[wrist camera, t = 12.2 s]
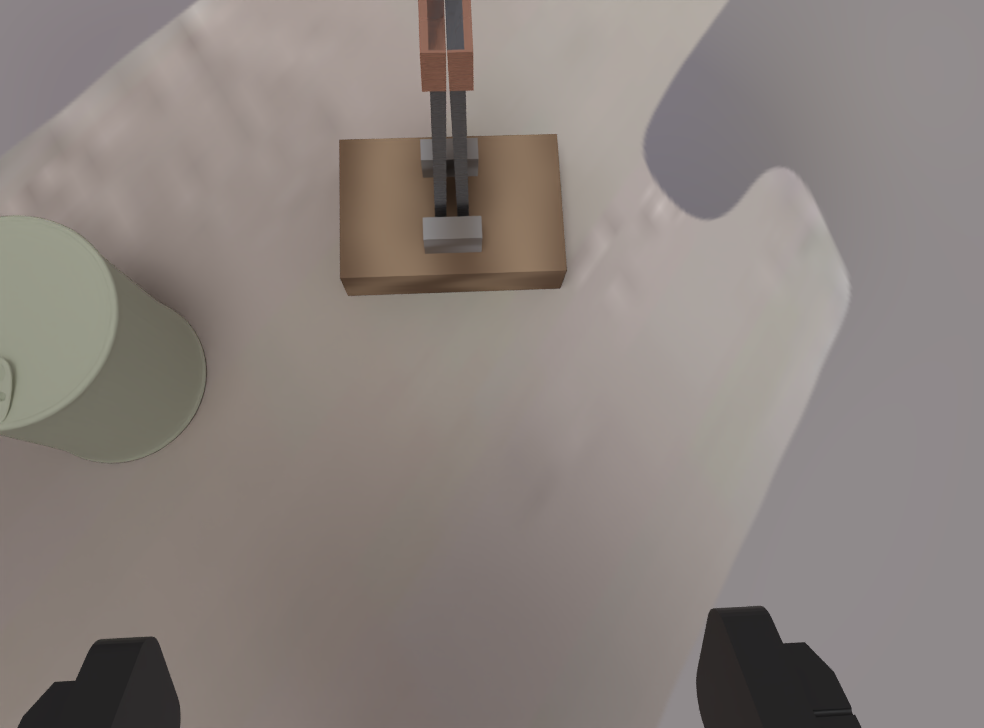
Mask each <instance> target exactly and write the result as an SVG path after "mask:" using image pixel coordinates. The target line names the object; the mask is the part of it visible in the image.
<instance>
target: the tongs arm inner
mask: <svg viewBox="0 0 984 728" xmlns="http://www.w3.org/2000/svg"><path fill="white" fill-rule="evenodd" d="M418 8H419V40H420V64H421V81H422V92H427V91H430V102H431V128H432V153H433V179H434V204H435V217H447V216H446V44H445V19H444V0H418Z"/></svg>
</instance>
